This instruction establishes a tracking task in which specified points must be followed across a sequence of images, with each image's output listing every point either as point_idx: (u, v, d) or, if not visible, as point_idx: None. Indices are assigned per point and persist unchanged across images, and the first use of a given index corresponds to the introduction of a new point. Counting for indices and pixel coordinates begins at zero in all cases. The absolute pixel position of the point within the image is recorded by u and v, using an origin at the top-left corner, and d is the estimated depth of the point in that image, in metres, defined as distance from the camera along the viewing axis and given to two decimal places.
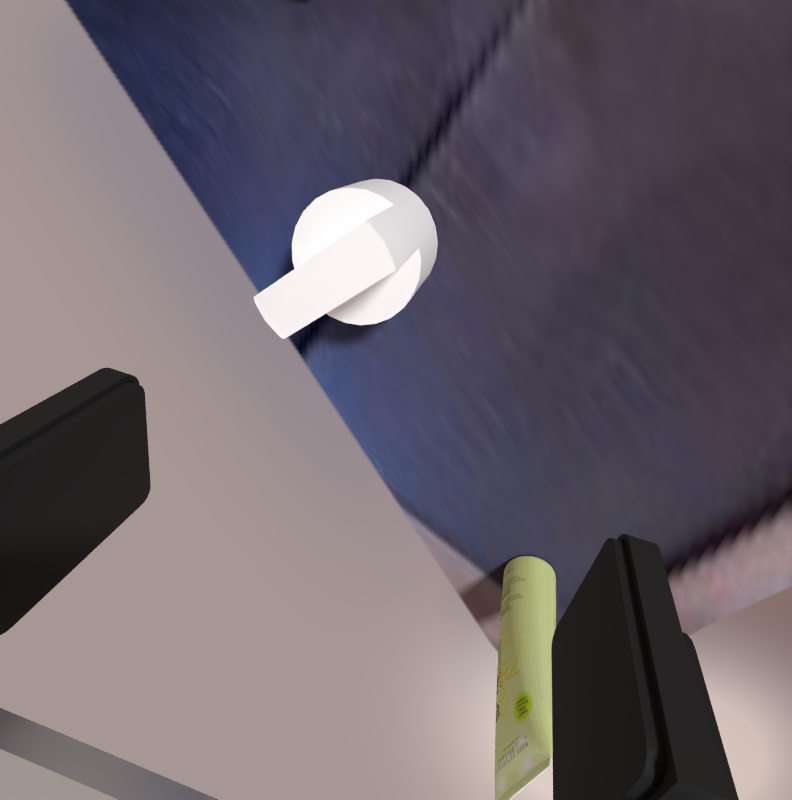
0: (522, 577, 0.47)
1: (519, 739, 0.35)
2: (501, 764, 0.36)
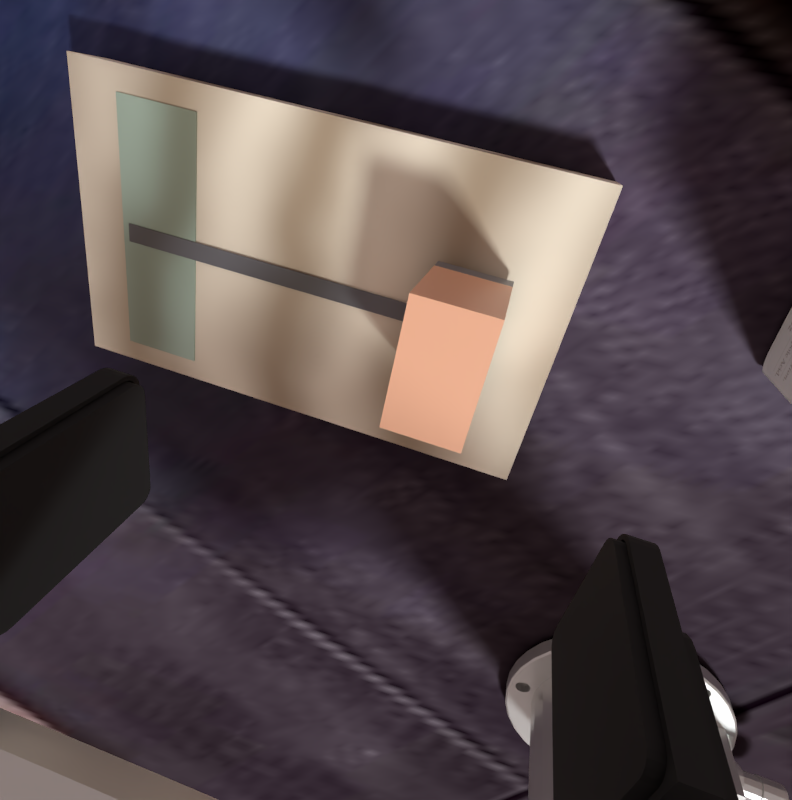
0: None
1: None
2: None
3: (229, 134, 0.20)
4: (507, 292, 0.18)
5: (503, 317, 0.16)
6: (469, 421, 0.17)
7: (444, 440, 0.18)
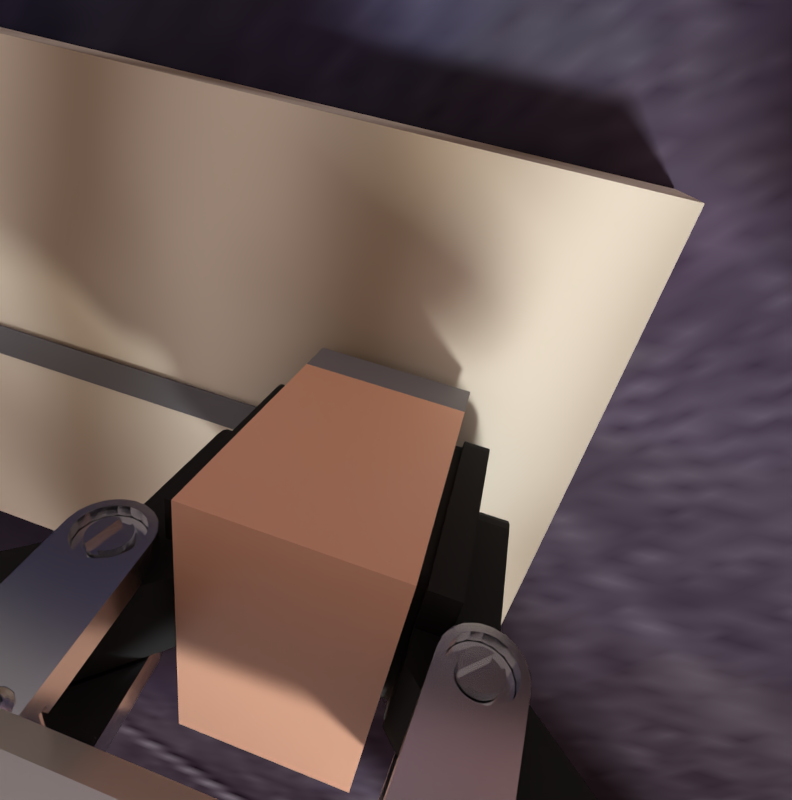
0: None
1: None
2: None
3: None
4: (449, 437, 0.08)
5: (415, 570, 0.06)
6: (358, 749, 0.08)
7: (312, 766, 0.08)
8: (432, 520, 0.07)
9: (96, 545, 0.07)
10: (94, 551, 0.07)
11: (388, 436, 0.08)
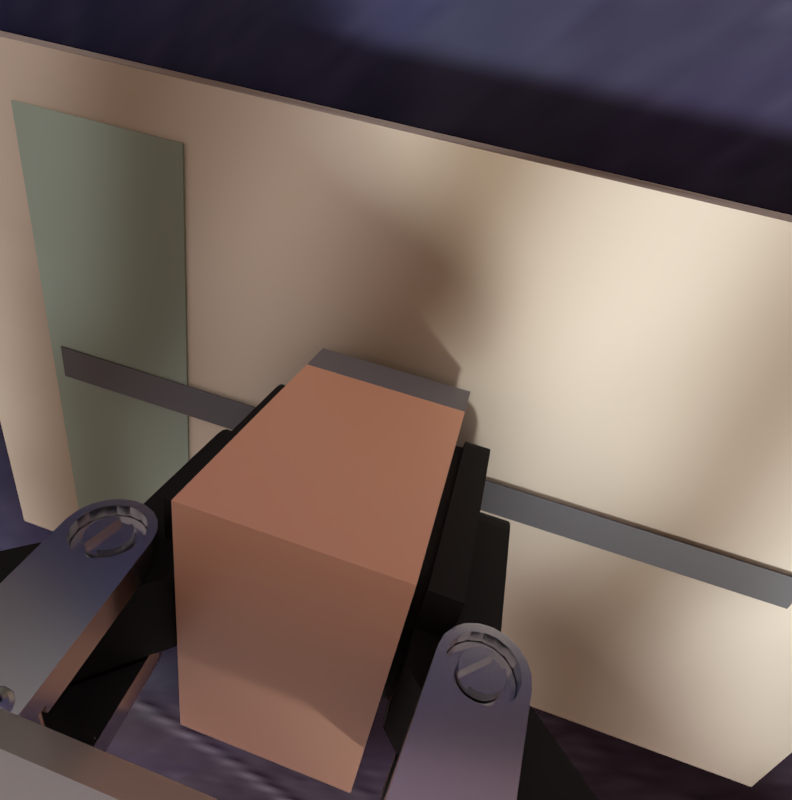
0: None
1: None
2: None
3: (254, 191, 0.09)
4: (449, 437, 0.08)
5: (415, 569, 0.06)
6: (359, 750, 0.07)
7: (313, 767, 0.08)
8: (432, 520, 0.07)
9: (95, 545, 0.07)
10: (93, 551, 0.07)
11: (388, 436, 0.08)
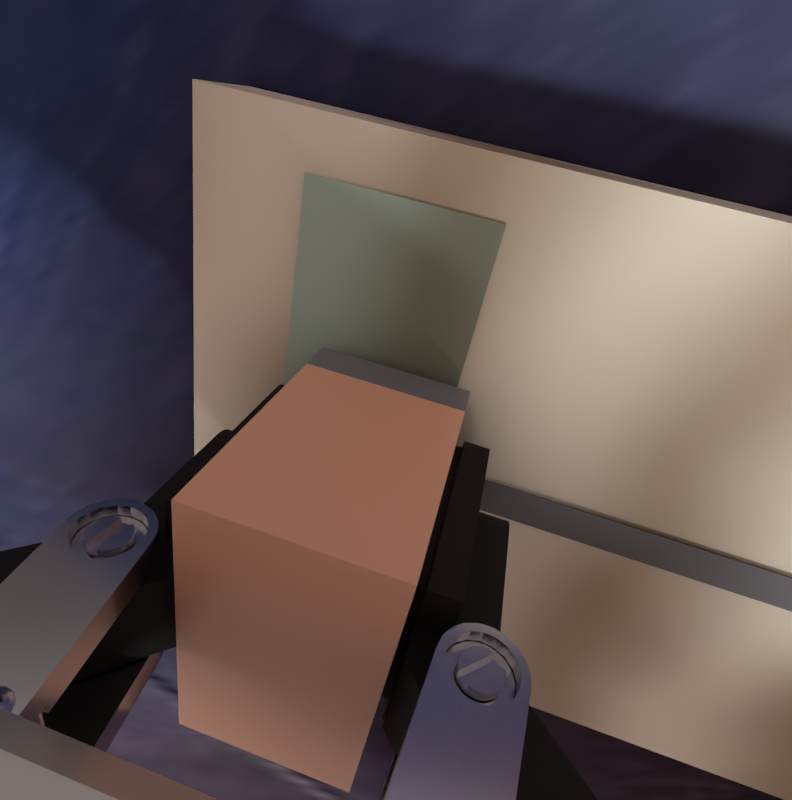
0: None
1: None
2: None
3: (579, 275, 0.09)
4: (449, 436, 0.08)
5: (416, 570, 0.06)
6: (358, 749, 0.07)
7: (312, 766, 0.08)
8: (432, 520, 0.07)
9: (96, 545, 0.07)
10: (94, 551, 0.07)
11: (388, 436, 0.08)
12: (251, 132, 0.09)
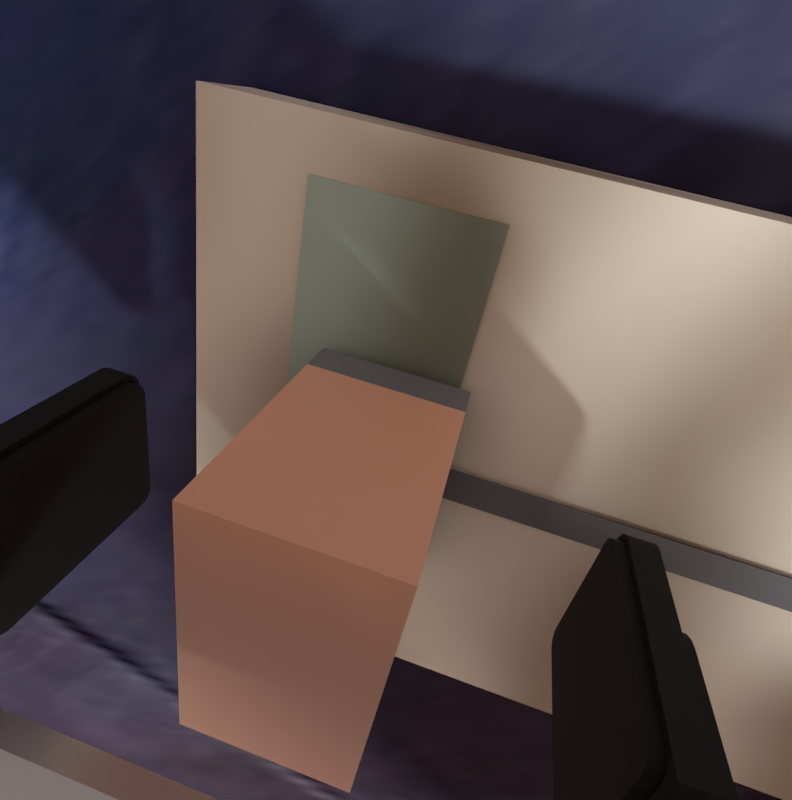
0: None
1: None
2: None
3: (582, 277, 0.09)
4: (450, 437, 0.08)
5: (417, 571, 0.06)
6: (359, 750, 0.08)
7: (312, 767, 0.08)
8: (433, 521, 0.07)
9: None
10: None
11: (389, 436, 0.08)
12: (254, 134, 0.09)
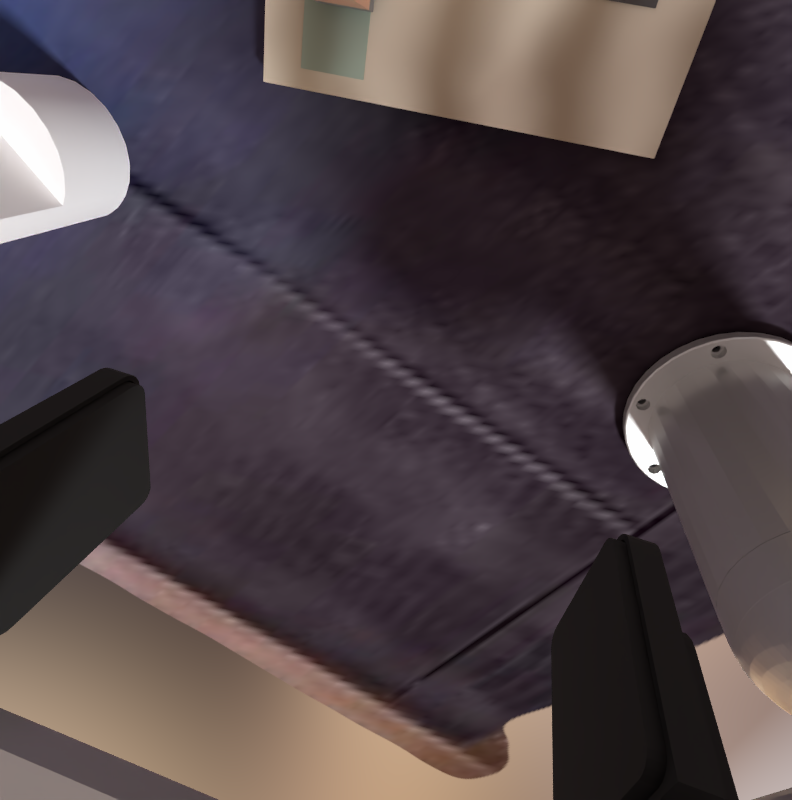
0: None
1: None
2: None
3: None
4: None
5: None
6: None
7: None
8: None
9: None
10: None
11: None
12: None
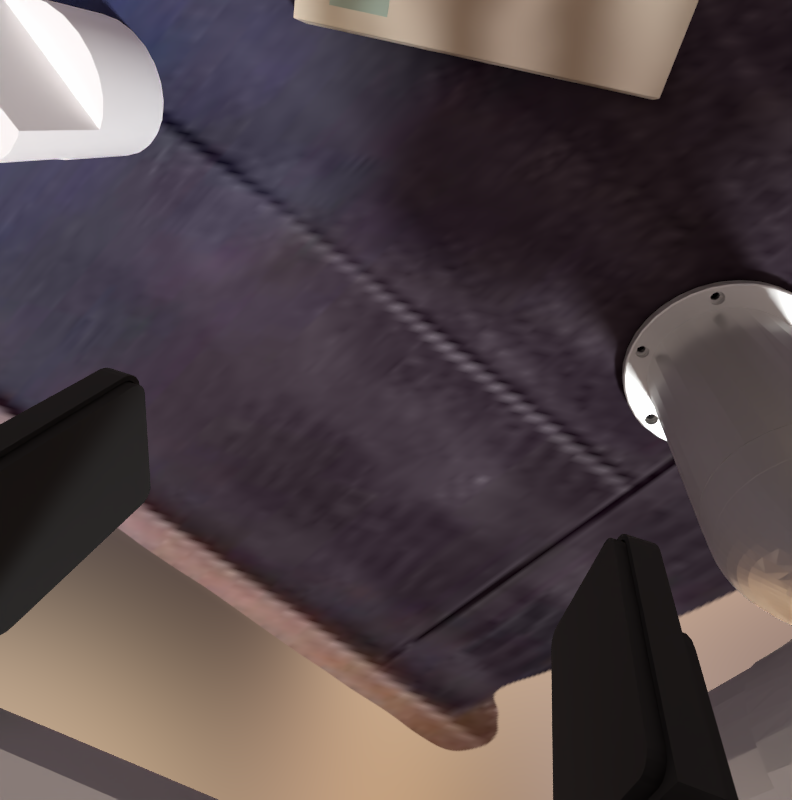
0: None
1: None
2: None
3: None
4: None
5: None
6: None
7: None
8: None
9: None
10: None
11: None
12: None
